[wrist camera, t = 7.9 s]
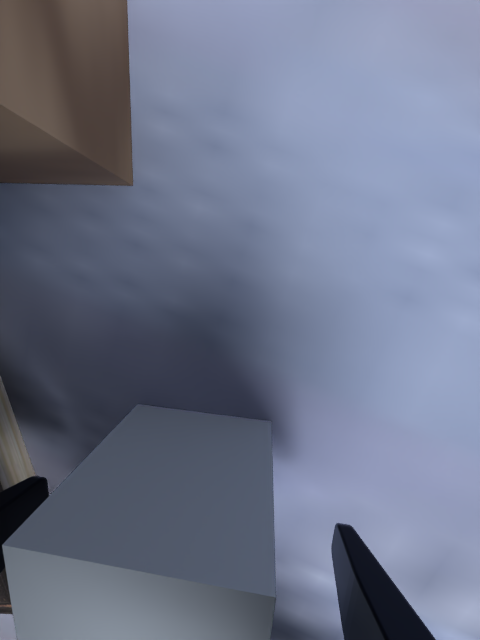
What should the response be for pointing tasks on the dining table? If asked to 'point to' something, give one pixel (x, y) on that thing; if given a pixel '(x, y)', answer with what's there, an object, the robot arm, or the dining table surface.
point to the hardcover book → (10, 471)
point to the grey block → (154, 536)
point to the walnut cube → (65, 92)
